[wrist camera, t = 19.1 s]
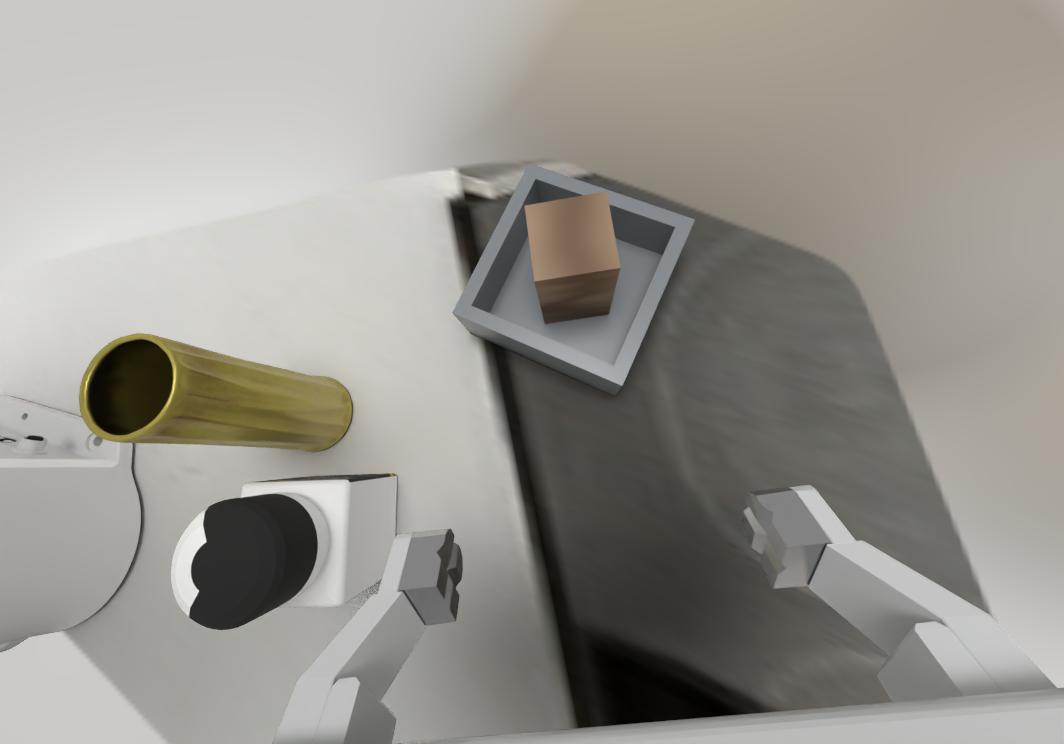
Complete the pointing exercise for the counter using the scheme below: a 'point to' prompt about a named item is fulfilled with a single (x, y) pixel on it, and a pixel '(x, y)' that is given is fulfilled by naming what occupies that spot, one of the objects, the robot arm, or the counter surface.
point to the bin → (583, 344)
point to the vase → (207, 399)
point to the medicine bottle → (285, 547)
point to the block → (573, 256)
